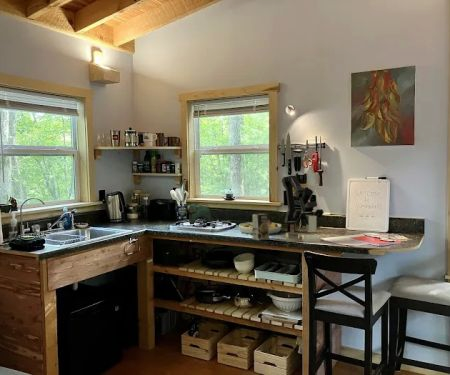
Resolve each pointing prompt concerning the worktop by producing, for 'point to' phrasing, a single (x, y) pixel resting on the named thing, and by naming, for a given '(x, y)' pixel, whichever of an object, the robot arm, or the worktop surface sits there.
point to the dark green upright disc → (198, 213)
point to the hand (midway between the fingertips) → (312, 224)
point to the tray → (311, 238)
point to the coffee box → (260, 226)
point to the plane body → (292, 235)
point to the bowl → (248, 227)
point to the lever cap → (311, 223)
